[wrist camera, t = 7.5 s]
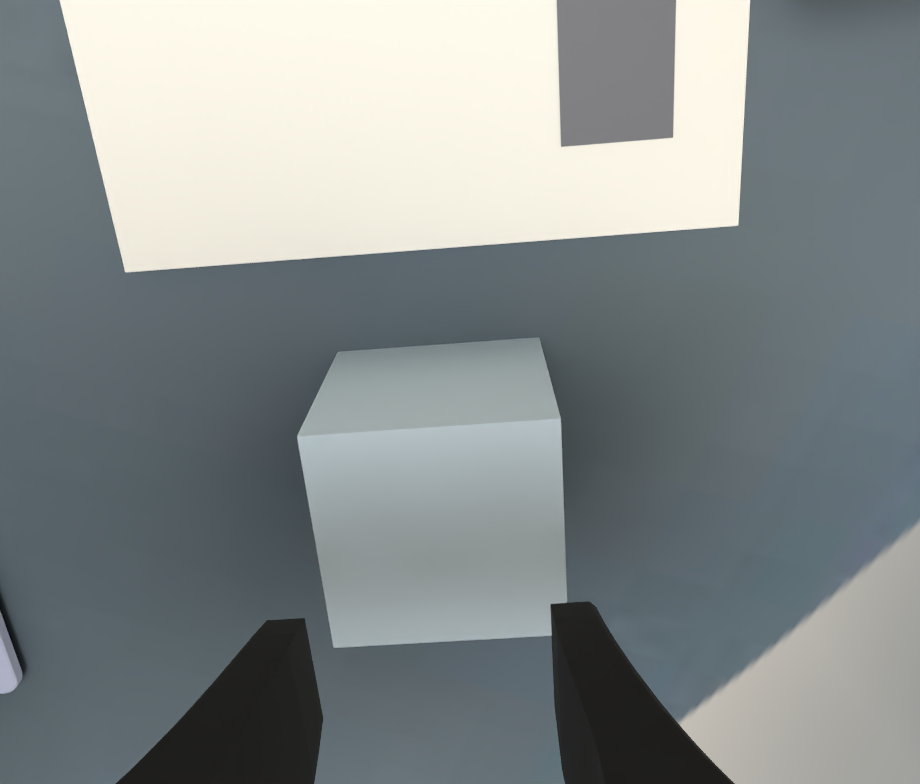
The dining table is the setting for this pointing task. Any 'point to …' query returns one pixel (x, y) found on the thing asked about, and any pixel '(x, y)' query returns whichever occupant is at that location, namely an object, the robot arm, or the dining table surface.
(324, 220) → the letter card
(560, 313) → the dining table surface
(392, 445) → the pale blue cube
